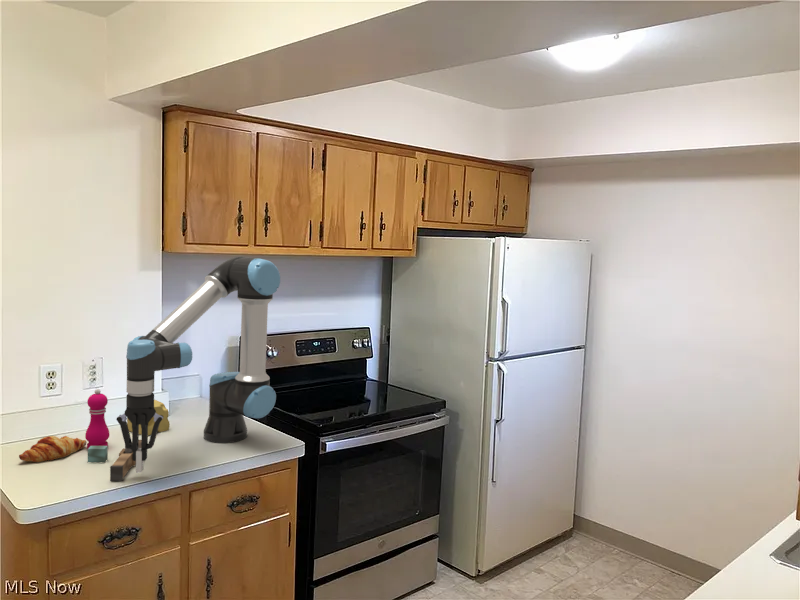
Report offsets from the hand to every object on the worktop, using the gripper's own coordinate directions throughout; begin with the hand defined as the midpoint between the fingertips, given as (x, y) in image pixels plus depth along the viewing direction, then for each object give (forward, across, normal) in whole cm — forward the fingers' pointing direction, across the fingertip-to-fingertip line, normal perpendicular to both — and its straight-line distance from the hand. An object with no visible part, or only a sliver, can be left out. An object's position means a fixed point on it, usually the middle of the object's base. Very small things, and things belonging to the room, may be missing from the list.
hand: (139, 470), depth 191 cm
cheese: (+2, +8, -44) cm, 45 cm away
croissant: (+2, +30, -18) cm, 35 cm away
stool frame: (+2, +11, -16) cm, 19 cm away
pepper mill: (+2, +19, -25) cm, 32 cm away
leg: (+2, +6, -5) cm, 8 cm away
